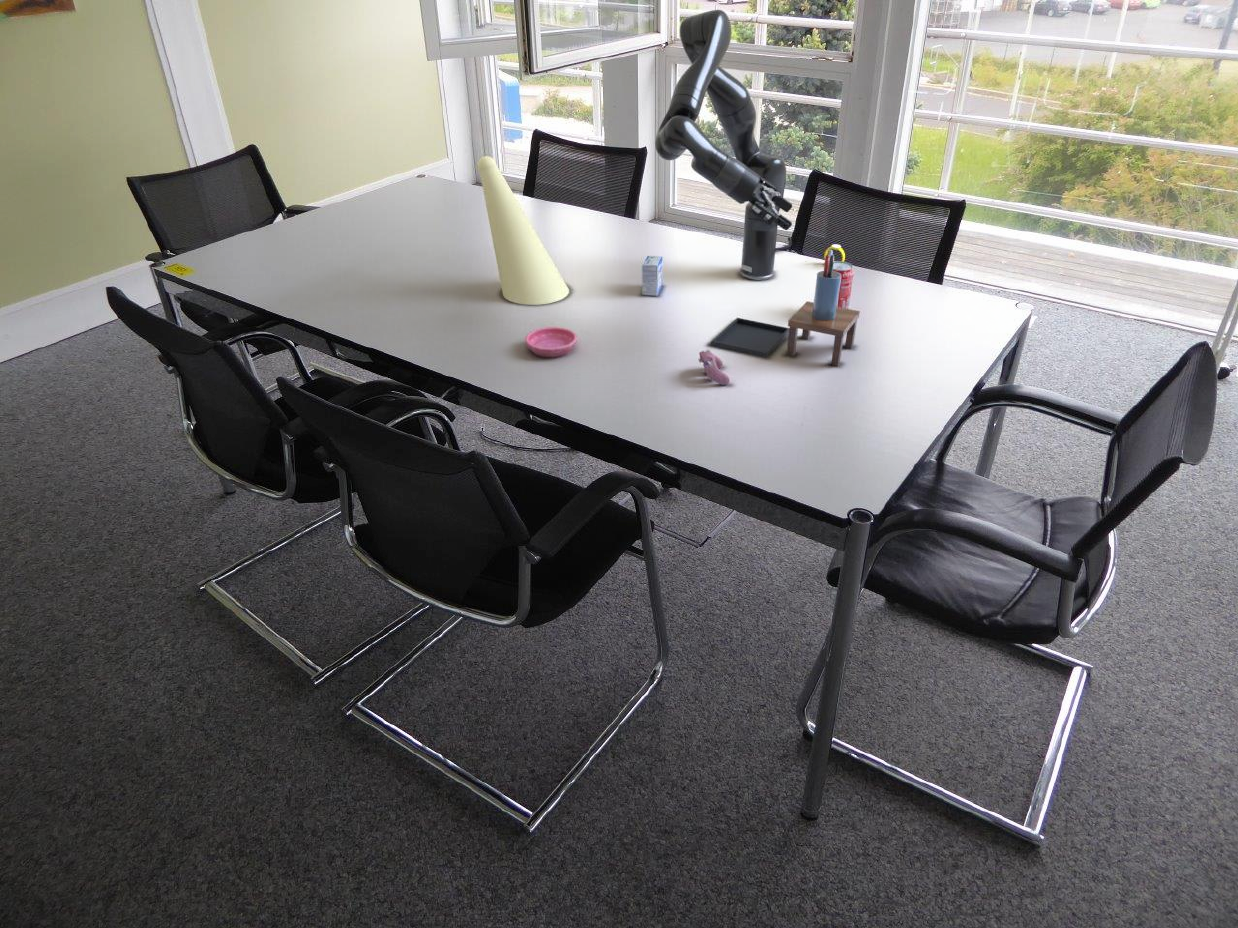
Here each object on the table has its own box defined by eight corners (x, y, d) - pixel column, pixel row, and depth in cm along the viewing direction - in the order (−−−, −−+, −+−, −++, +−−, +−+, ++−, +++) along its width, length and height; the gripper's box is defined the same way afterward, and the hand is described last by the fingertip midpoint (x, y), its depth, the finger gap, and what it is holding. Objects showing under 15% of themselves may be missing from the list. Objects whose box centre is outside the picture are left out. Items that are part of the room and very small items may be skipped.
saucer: (557, 364, 202) (557, 352, 200) (515, 353, 207) (514, 340, 206) (587, 345, 211) (587, 333, 209) (546, 334, 216) (545, 322, 214)
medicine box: (657, 296, 237) (658, 265, 232) (641, 295, 237) (641, 264, 233) (662, 286, 243) (662, 256, 238) (646, 285, 244) (647, 255, 239)
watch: (821, 264, 257) (824, 245, 253) (825, 262, 259) (828, 242, 255) (840, 268, 254) (843, 249, 250) (844, 266, 256) (847, 246, 252)
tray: (736, 321, 222) (737, 317, 221) (789, 332, 216) (790, 328, 215) (710, 345, 210) (711, 341, 209) (766, 357, 204) (766, 353, 203)
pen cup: (816, 309, 205) (824, 245, 197) (838, 313, 203) (847, 249, 195) (809, 317, 201) (816, 252, 193) (831, 322, 199) (840, 256, 191)
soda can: (849, 310, 228) (856, 262, 221) (845, 320, 222) (853, 271, 215) (821, 306, 230) (827, 259, 223) (817, 317, 224) (824, 268, 217)
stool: (802, 335, 215) (806, 301, 210) (854, 346, 209) (860, 311, 204) (784, 355, 205) (788, 320, 200) (838, 367, 200) (843, 331, 195)
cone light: (581, 287, 243) (577, 158, 224) (545, 309, 230) (537, 174, 211) (509, 272, 253) (499, 148, 234) (471, 293, 240) (457, 162, 221)
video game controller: (705, 373, 201) (693, 349, 197) (723, 364, 200) (711, 339, 197) (713, 393, 193) (700, 368, 189) (731, 383, 192) (719, 358, 188)
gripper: (743, 181, 191) (800, 221, 196) (745, 152, 201) (800, 191, 206) (722, 206, 196) (779, 245, 200) (726, 177, 206) (780, 214, 210)
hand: (789, 217), depth 203 cm, fingers open, 8 cm apart
